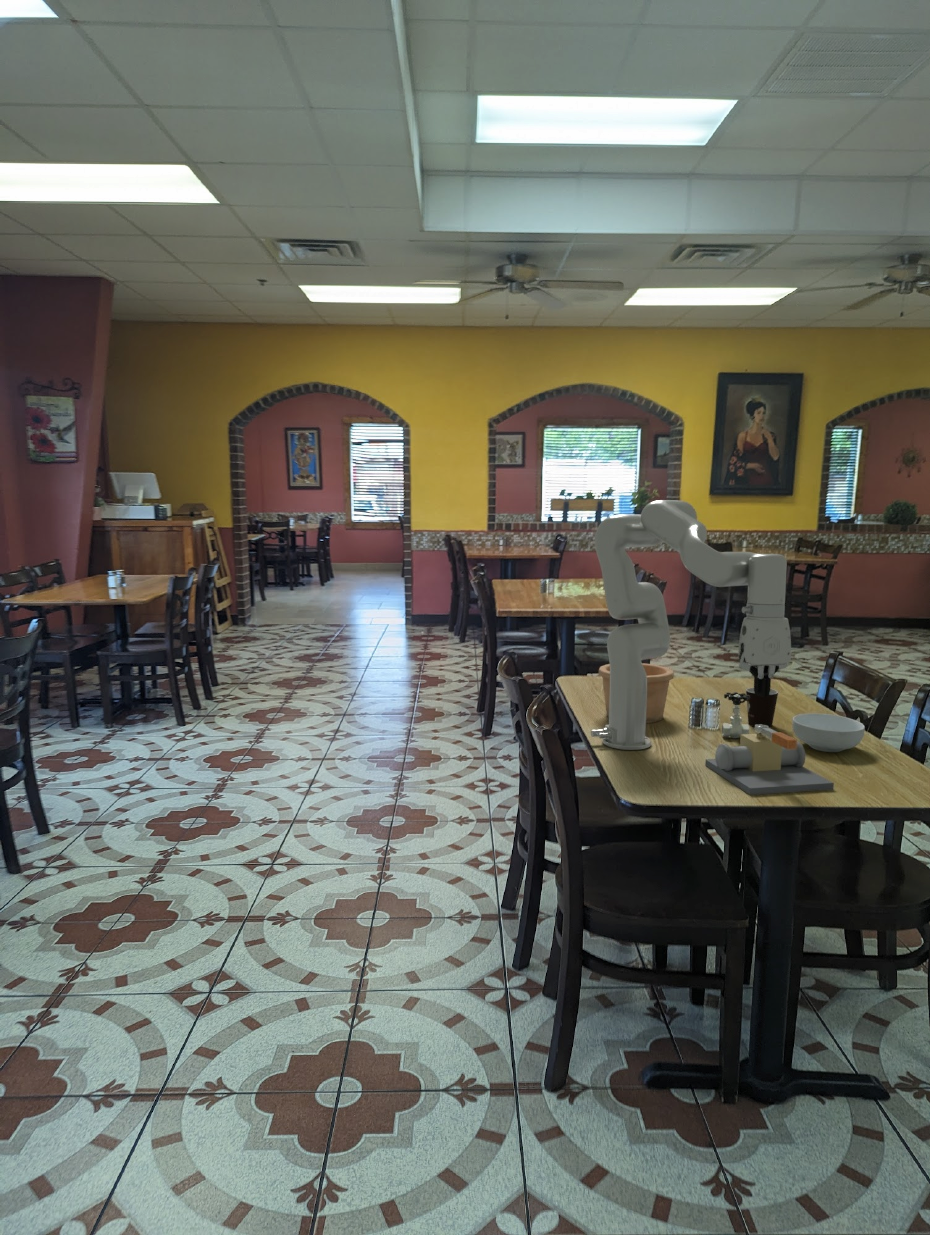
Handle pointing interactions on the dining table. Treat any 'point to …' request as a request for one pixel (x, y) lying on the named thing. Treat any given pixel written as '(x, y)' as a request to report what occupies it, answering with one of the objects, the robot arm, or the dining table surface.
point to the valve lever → (776, 736)
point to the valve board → (773, 779)
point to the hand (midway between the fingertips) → (761, 695)
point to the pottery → (655, 689)
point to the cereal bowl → (827, 731)
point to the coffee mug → (761, 708)
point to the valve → (735, 717)
